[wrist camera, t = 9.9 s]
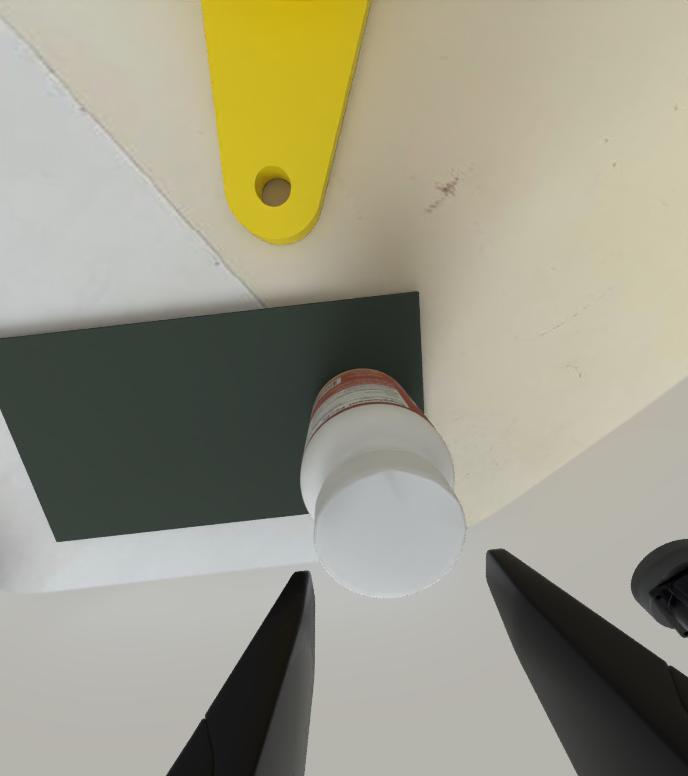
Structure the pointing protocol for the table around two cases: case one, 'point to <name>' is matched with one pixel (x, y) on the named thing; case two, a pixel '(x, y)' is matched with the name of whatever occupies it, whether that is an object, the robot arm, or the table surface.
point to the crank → (280, 102)
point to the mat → (190, 410)
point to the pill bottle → (379, 488)
